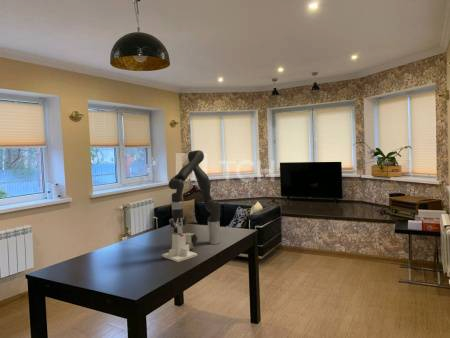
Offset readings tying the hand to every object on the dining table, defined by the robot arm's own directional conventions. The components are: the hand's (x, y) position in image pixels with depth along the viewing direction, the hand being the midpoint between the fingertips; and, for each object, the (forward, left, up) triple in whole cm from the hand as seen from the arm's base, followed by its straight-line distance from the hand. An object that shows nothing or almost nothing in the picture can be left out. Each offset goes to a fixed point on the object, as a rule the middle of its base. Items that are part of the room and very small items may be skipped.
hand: (178, 232), depth 231 cm
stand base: (0, 0, -17) cm, 17 cm away
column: (0, 0, -15) cm, 15 cm away
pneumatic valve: (-17, -9, -17) cm, 25 cm away
